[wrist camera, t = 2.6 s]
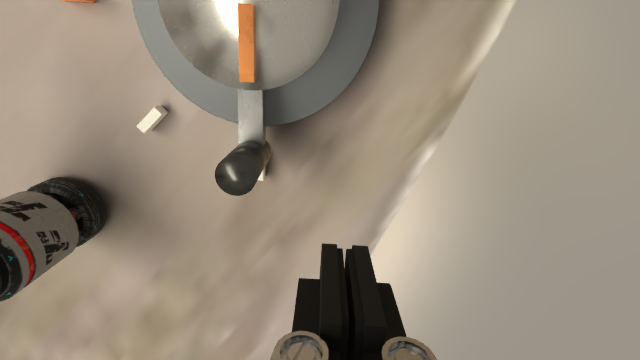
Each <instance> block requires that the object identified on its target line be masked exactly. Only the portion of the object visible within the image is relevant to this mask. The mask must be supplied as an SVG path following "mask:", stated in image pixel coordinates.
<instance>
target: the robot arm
mask: <svg viewBox="0 0 640 360" xmlns="http://www.w3.org/2000/svg"><path fill="white" fill-rule="evenodd" d="M270 360H437V359H436V357H435V355H434V354H433V353H432V351H431V350H430V349H429V348H428V347H427V346H425V345H424V344H423V343H421V342H419V341H417V340H416V339H412V338H409V337H406V333H405V330H404V327H403V324H402V320H401V317H400V314H399V311H398V307H397V305H396V301H395V298H394V294H393V291H392V288H391V286H390V284H388V283H377V282H376V278H375V274H374V270H373V266H372V262H371V258H370V254H369V250H368V246H355V245H353V246H352V249H347V250H346V258H345V269H344V261H343V250H342V249H339V248H337V244H322V251H321V266H320V279H303V278H299V282H298V289H297V297H296V305H295V313H294V320H293V328H292V332H291V333H289V334H287V335H284V336H283V337H282V338H281V339H280V340H279V341H278V342H277V344H276V346H275V348H274V351H273V353H272V356H271V359H270Z"/></svg>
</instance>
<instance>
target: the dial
mask: <svg viewBox="0 0 640 360" xmlns="http://www.w3.org/2000/svg"><path fill="white" fill-rule="evenodd" d="M157 1H158V6H159V9H160V13H161V17H162V19H163V22H164V24H165V27H166V29H167V31H168V33H169V35H170V37H171V39H172V40H173V42H174V43H175V45H176V46H177V48H178V49H179V51H180V52H181V53H182V54H183V55H184V57H185V58H186V59H187V60H188V61H189V62H190V63H191V64H192V65H193V66H194V67H195V68H196V69H198V70H199V71H200V72H202V73H203V74H204V75H206V76H207V77H209V78H211V79H213V80H214V81H216V82H219V83H221V84H223V85H226V86H229V87H233V88H236V89H237V90H238V126H239V145H238V146H237V147H236V148H235V149H234V150H233V151H232V152H230V153H229V154H228V155H227V156H226V157H225V158H224V159H223V160H222V161H221V162H220V163H219V164H218V166H217V167H216V170H215V179H216V182H217V184H218V186H219V187H220V188H221V189H222V190H223V191H224V192H226V193H228V194H230V195H236V196H239V195H244V194H246V193H248V192H249V191H251V190H252V188H253V187H254V185H255V183H256V182H257V180H258V178H259V176H260V175H261V173H262V171H263V169H264V168H265V166H266V164H267V162H268V161H269V159H270V157H271V147H270V145H269V143H268V142H267V141H266V89H272V88H275V87H279V86H282V85H284V84H286V83H289V82H291V81H293V80H295V79H296V78H298V77H300V76H301V75H303V74H304V73H305V72H306V71H308V70H309V69H310V68H311V67H312V66H313V65H314V64H315V63H316V62H317V61H318V59H319V58H320V56H321V55H322V54H323V52H324V51H325V49H326V47H327V45H328V43H329V41H330V38H331V36H332V33H333V31H334V27H335V23H336V19H337V15H338V8H339V0H157Z"/></svg>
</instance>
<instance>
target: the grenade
mask: <svg viewBox="0 0 640 360" xmlns="http://www.w3.org/2000/svg"><path fill="white" fill-rule="evenodd" d="M104 222H105V211H104V207H103V205H102V202H101V200H100V199H99V197H98V196H97V195H96V194H95V192H94V191H93V190H92V189H90V188H89V187H88V186H86V185H85V184H83V183H81V182H79V181H77V180H74V179H71V178H64V177H58V178H52V179H49V180H47V181H44V182H42V183H40V184H37V185H35V186H33V187H31V188H29V189H28V190H27V191H25V192H18V193H16V194H13V195H11V196H9V197H6V198H4V199H1V200H0V301H4V300H6V299H9V298H11V297H12V296H14V295H15V294H16V293H18V292H19V291H20V290H22V289H23V288H24V287H26V286H27V285H29V284H30V283H31V282H33V281H34V280H35V279H37V278H38V277H39V276H41V275H42V274H43V273H45V272H46V271H47V270H49V269H50V268H51V267H53V266H54V265H55V264H57V263H58V262H59V261H61V260H62V259H63V258H65V257H66V256H68V255H69V254H70V253H72V252H73V250H74V249H75V248H76V247H78V246H80V245H83V244H84V243H85V242H87V241H88V240H90V239H91V238H92V237H94V236H95V235H96V234H98V233H99V231H100V230H101V229H102V227H103V225H104Z"/></svg>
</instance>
